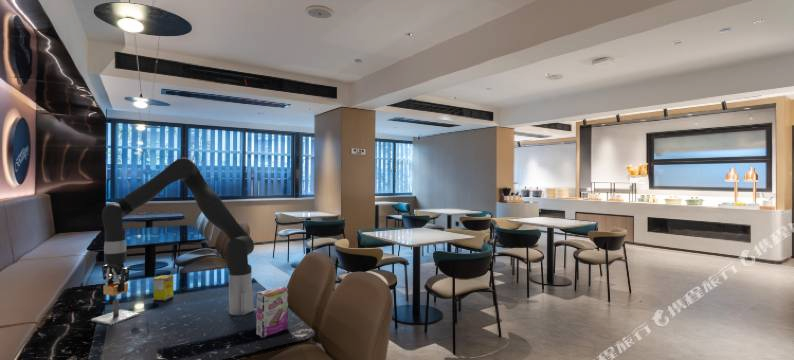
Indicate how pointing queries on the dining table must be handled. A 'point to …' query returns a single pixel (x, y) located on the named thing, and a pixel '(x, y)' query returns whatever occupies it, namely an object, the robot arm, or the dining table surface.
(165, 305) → the dining table surface
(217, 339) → the dining table surface
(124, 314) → the keeper
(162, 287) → the supplement box
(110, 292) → the link
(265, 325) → the candy bar box
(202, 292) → the dining table surface
